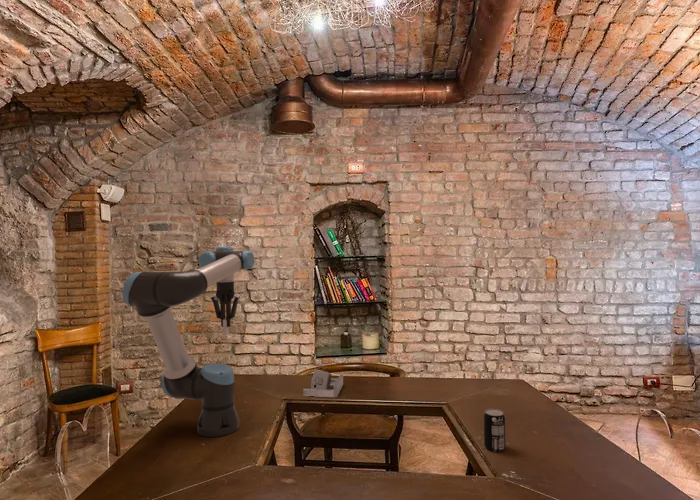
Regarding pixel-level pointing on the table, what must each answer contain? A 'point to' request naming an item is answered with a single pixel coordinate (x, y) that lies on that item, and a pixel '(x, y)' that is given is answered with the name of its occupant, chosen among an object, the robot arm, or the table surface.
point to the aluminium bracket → (326, 392)
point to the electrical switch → (321, 380)
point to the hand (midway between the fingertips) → (226, 334)
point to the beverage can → (494, 430)
